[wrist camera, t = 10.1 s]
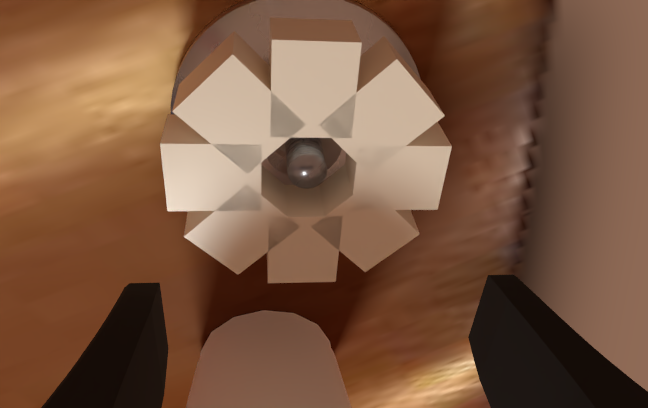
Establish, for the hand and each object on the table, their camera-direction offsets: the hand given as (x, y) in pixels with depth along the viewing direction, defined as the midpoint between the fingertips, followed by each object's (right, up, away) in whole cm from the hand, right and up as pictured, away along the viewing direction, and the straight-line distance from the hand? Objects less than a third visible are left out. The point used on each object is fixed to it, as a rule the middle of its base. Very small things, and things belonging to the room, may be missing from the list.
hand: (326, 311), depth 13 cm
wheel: (-1, +4, +6) cm, 7 cm away
